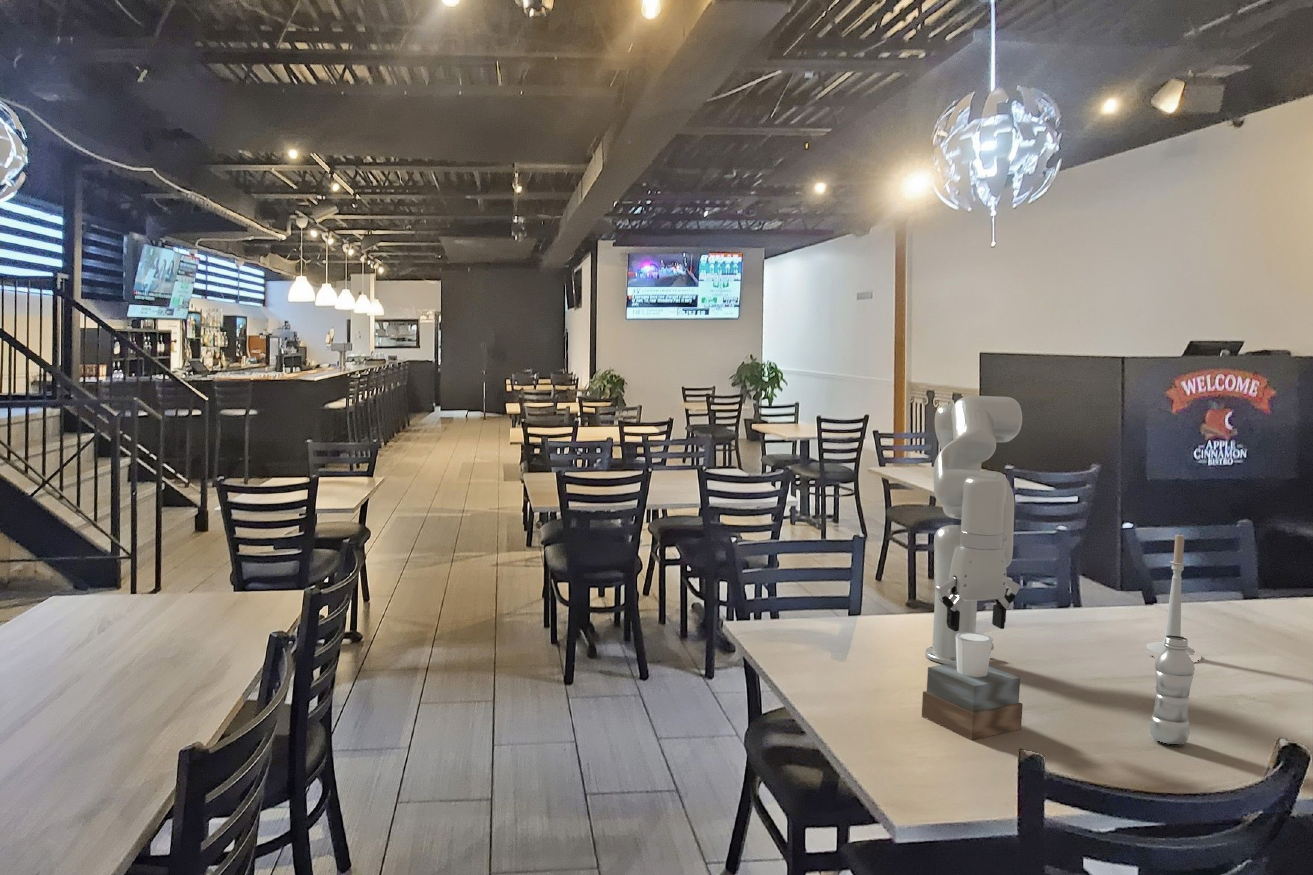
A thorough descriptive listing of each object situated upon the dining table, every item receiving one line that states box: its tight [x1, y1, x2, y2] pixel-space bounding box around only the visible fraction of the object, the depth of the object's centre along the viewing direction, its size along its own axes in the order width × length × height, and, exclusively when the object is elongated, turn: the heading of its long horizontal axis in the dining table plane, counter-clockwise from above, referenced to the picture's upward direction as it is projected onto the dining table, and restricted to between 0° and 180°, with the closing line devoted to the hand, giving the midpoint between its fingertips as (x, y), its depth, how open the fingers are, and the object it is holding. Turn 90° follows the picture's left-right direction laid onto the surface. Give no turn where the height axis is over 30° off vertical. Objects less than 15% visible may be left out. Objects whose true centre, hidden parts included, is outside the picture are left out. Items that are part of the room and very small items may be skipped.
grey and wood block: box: [921, 662, 1024, 741], centre depth 189 cm, size 13×13×10 cm
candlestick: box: [1145, 534, 1196, 655], centre depth 237 cm, size 13×13×30 cm
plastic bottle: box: [1149, 635, 1196, 745], centre depth 181 cm, size 6×7×20 cm
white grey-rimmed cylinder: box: [956, 632, 994, 677], centre depth 188 cm, size 7×7×7 cm
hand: (975, 628), depth 188 cm, fingers open, 9 cm apart
